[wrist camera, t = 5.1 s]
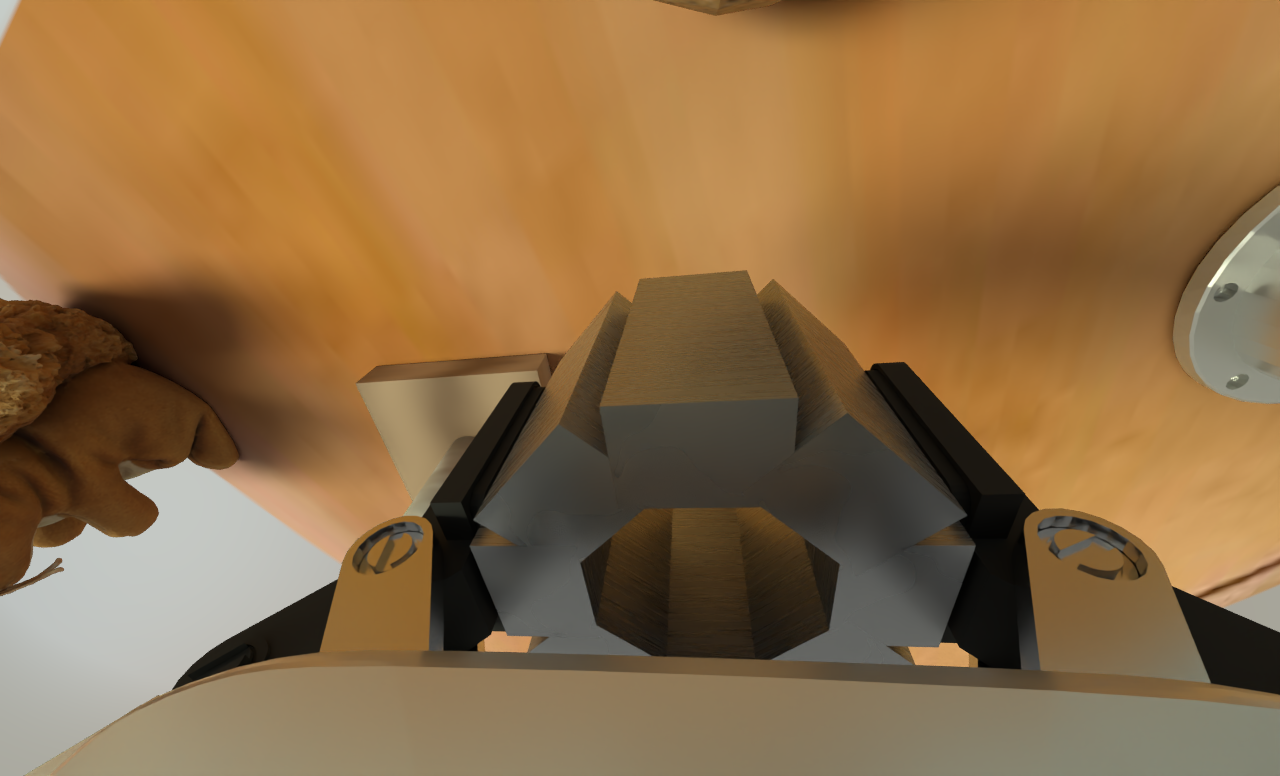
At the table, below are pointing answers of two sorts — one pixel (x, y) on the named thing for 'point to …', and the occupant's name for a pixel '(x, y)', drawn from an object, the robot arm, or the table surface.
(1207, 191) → the table surface
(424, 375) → the shaft stand
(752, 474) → the hub
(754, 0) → the potato
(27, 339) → the stuffed squirrel
